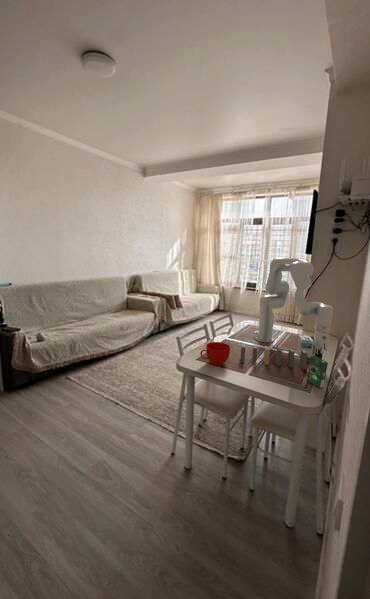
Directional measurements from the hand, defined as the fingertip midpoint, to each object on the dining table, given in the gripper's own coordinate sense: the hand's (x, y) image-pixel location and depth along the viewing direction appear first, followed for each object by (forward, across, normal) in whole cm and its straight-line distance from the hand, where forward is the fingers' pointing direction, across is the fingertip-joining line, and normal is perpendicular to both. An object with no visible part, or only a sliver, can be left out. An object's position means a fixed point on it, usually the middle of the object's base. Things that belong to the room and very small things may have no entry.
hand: (317, 360), depth 153 cm
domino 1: (+5, 0, +40) cm, 40 cm away
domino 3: (+5, 0, +27) cm, 27 cm away
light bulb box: (+5, +20, +2) cm, 20 cm away
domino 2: (+5, 0, +34) cm, 34 cm away
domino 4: (+5, 0, +20) cm, 21 cm away
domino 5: (+5, 0, +14) cm, 15 cm away
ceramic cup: (+5, -8, +56) cm, 56 cm away
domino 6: (+5, 0, +8) cm, 9 cm away
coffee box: (+5, -20, +6) cm, 21 cm away
